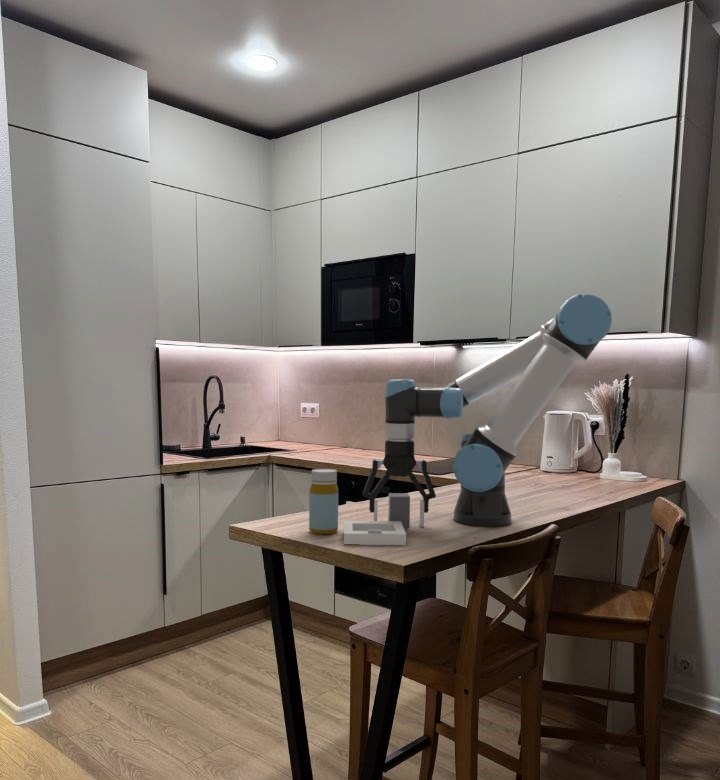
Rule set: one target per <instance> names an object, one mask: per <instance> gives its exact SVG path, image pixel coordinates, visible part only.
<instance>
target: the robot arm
mask: <svg viewBox="0 0 720 780" xmlns="http://www.w3.org/2000/svg"><path fill="white" fill-rule="evenodd" d="M612 318H613V317H612V312H611V308H610V307H609V305H608V304H607V303H606V302H605V301H604V299H602V298H601V297H599V296H596V295H594V294H590V293H581V294H576V295H573V296H571V297H569V298H568V299H567V300H565V301H564V302H563V303H562V304H561V305H560V307H559V308H558V312H557V314H556V315H555V316H554V317H553V318H552V319H550V320H549V321H547V322H545V323H544V324H542V325H541V326H540V328H539V331H538V332H536V333H535V334H533V335H530V336H529V337H527V338H525V339H524V340H522V341H521V342H519V343H517V344H516V345H513V346H512V347H510V348H508V349H506V350H505V351H503V352H501V353H500V354H497V355H496V356H495V357H492V358H490V359H489V360H487V361H486V362H484V363H482V364H481V365H479V366H477V367H475V368H474V369H472V370H471V371H468V372H467V373H465V374H463V375H462V376H460V377H459V378H457V379H455V380H453V381H451V382H449V383H447V384H446V385H444V386H442V387H419V386H416V381H415V380H414V379H389V380H388V381H387V382H386V384H385V385H386V387H385V395H384V398H385V401H384V403H385V424H384V425H385V426H384V427H385V428H384V431H385V433H384V437H385V439H386V440H385V442H384V458H383V459H376V458H374V459H373V460H372V462H371V463H372V465H371V466H372V467H371V470H370V473H369V475H368V478H367V480H366V483H365V486H364V489H363V490H362V497H363V498H366V499H368V500H369V508H368V509H369V512H370V513H373V521H378V498H377V496H378V495H379V493H380V492H381V491H382V489H383V488H384V486H385V484H386V483H387V482H388V480H389V479H390V477H393V478H395V477H399V476H400V477H402V478H404V477H407V476H408V477H409V479H410V480H411V481H412V483H413V484H414V486H415V488H416V489H417V490H418V492H419V494H420V495H421V497H422V498H420V499H419V525H420V527H421V528H424V527H425V514H428V512H429V502H430V500H431V499H435V498H437V496H436V492H435V489H434V486H433V484H432V481H431V478H430V475H429V472H428V466H427V465H428V464H427V463H428V462H427V461H426V460H425V459H421V460H417V459H416V457H415V441H414V440H413V439H415V436H416V435H415V432H416V431H415V429H416V426H415V425H416V423H415V422H416V421H415V419H416V418H422V417H423V418H442V419H443V418H445V419H448V420H449V419H457V418H460V417H462V415H463V410H464V408H465V407H467V406H469V405H470V404H472V403H474V402H476V401H478V400H479V399H481V398H482V397H485V396H486V395H488V394H490V393H492V392H494V391H495V390H497V389H499V388H500V387H502V386H504V385H506V384H508V383H509V382H511V381H513V380H515V379H516V378H518V377H519V378H518V380H517V381H515V384H514V385H513V386H512V387H511V389H510V391H509V392H508V393H507V394H506V396H505V398H504V399H503V400H502V402H501V403H500V405H499V406H498V407H497V409H496V411H495V412H494V414H493V415H492V416H491V418H490V419H489V420H488V422H487V423H486V424H484V425H480V426H477V427H476V428H475V429H474V430H473V432H472V433H465V434H463V435H462V436H461V441H460V449H459V450H458V451H457V452H456V454H455V456H454V458H453V463H452V464H453V465H452V467H453V473H454V477H455V478H456V480H457V482H458V483H459V484H460V492H459V495H458V498H457V501H456V504H455V507H454V509H453V520H454V521H455V522H457V523H460V524H464V525H469V526H475V527H501V526H506V525H509V524H511V523H512V512H511V508H510V505H509V502H508V498H507V495H506V471H507V469H509V467H510V465H511V464H512V462H514V459H515V458H516V457H517V456H518V452H517V445H518V444H519V442H520V441H521V439H522V438H523V436H524V435H525V434H526V432H527V431H528V429H529V428H530V427H531V425H532V424H533V422H535V419H537V417H538V416H539V414H540V413H541V411H542V410H543V408H545V406H547V405H546V404H547V403H548V402H549V400H550V399H551V397H553V395H554V393H555V392H556V391H557V389H558V388H559V387H560V385H561V384H562V383H563V381H564V380H565V378H566V377H567V375H569V373H570V371H571V370H572V369H573V367H575V365H576V364H579V363H583V362H586V361H587V360H588V358H589V357H590V355H591V354H592V353H593V351H594V350H595V348H596V347H597V346H598V344H599V343H600V341H602V340H603V339H604V338H605V337H606V336H607V335H608V333H609V332H610V330H611V328H612V322H613V321H612V320H613V319H612ZM381 466H384V468H385V469H386V471H385V472H384V474H383V475H382V477H381V478H380V480H379V481H378V483H377V484H376V486H375V487H374V489H373V490H372V491H371V488H372V486H373V483H374V480H375V477H376V474H377V472H378V469H381ZM416 466H417V467H418V469H420V470H421V473H422V476H423V478H424V479H423V480H424V481H425V482H424V483H425V485H426V488H427V490H428V493H427V492H426V491H425V490H424V488H423V487H422V485H421V483H420V482H419V480H418V479H417V477H416V476H415V474H414V472H413V469H414V468H415V467H416ZM370 491H371V493H370Z"/></svg>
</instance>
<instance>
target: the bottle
mask: <svg viewBox="0 0 720 780" xmlns="http://www.w3.org/2000/svg"><path fill="white" fill-rule="evenodd" d="M310 476H311V477H310V478H311V485H310V488H309V496H308V497H309V500H308V501H309V505H308V508H309V511H308V512H309V513H308V515H309V516H308V518H309V519H308V523H309V524H308V527H309V528H308V529H309V531H310V533H312V534H315V535H319V534H328V535H332V534H331V533H333V534H336V533H337V531H338V529H339V488H338V487H339V486H338V484H337V482H338V479H337V477H338V471H337V470H336V469H334V468H314V469H312V470H311V475H310Z"/></svg>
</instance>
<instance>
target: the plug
mask: <svg viewBox="0 0 720 780" xmlns="http://www.w3.org/2000/svg"><path fill="white" fill-rule="evenodd" d="M410 512H411V496H410V494H409V493H407V492H406V493H403V492H402V493H400V492H397V493H396V492H393V493H392V492H389V493H388V516H387V517H388V519H387V521H401V523H402V525H403V528H406V530H407V529H408V528H411V527H410V526H411V525H410V523H411V521H410V520H411V518H410V517H411V516H410V515H411V513H410Z"/></svg>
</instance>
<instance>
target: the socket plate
mask: <svg viewBox="0 0 720 780" xmlns="http://www.w3.org/2000/svg"><path fill="white" fill-rule="evenodd" d="M344 544H360V545H359V546H367V545H368V546H407V545H406V544H407V533H406V530H405V529H404V528H403V525H402V523H401V521H388V520H377V521H374V520H344V521H343V545H344Z"/></svg>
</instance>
